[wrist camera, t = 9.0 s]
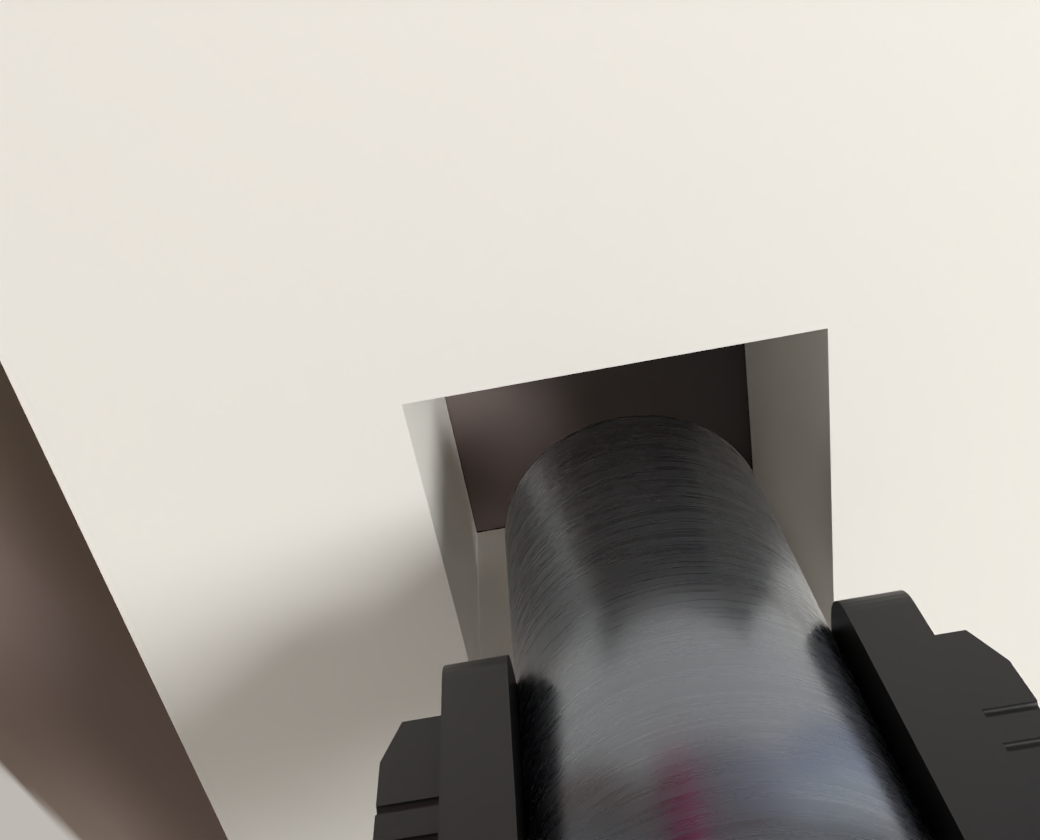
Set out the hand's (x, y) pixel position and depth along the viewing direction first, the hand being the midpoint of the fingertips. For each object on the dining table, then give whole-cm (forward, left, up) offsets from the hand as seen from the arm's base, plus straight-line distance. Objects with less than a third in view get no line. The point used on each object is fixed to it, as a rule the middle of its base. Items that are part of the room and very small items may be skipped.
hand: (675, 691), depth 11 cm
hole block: (0, 0, -7) cm, 7 cm away
